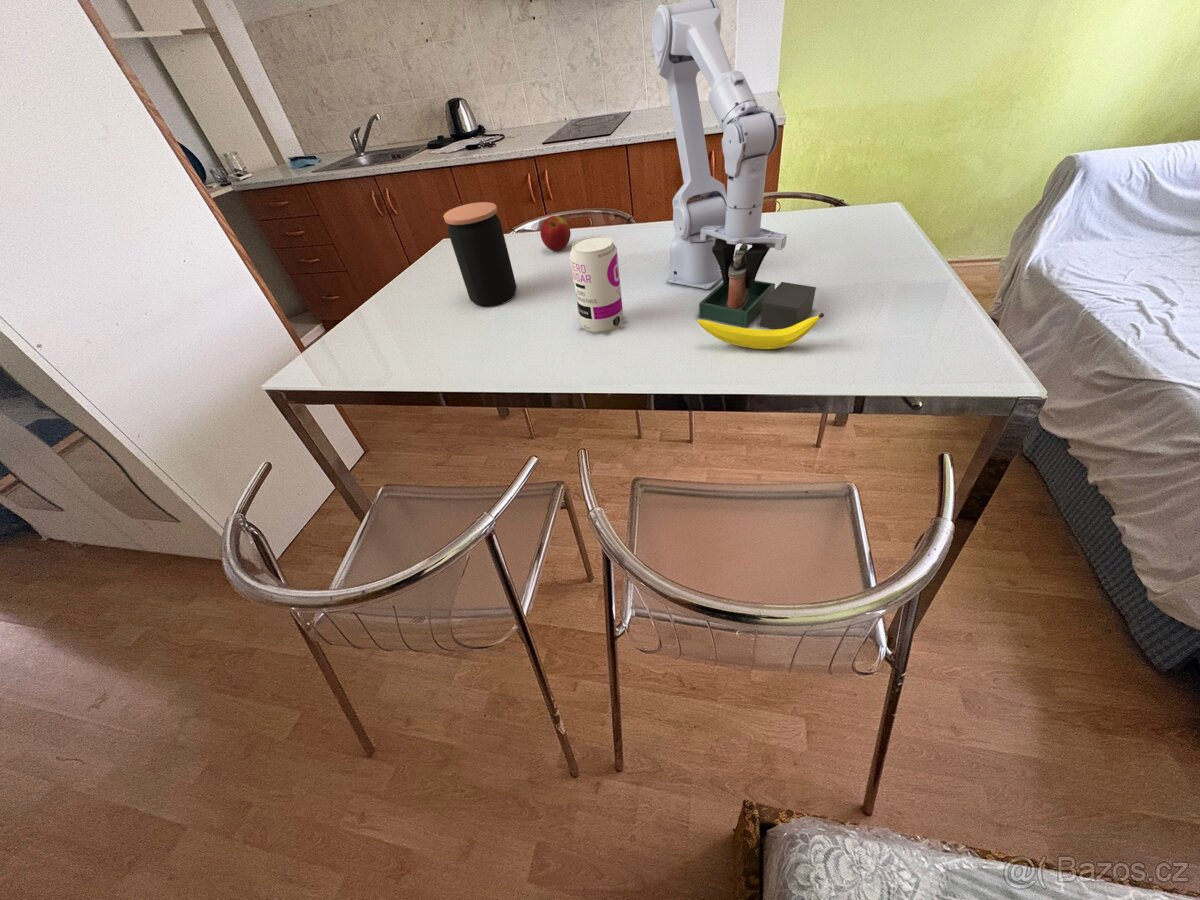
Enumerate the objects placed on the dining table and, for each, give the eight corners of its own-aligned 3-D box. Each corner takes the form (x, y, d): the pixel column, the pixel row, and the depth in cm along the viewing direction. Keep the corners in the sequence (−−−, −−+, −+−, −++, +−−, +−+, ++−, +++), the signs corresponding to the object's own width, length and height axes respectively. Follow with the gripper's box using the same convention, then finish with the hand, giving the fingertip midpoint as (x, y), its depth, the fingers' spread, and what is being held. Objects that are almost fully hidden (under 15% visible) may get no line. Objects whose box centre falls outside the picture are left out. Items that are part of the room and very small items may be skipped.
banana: (697, 341, 83) (697, 307, 79) (816, 345, 78) (823, 308, 74) (695, 350, 81) (695, 316, 77) (817, 354, 76) (824, 318, 72)
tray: (698, 317, 89) (699, 303, 87) (728, 290, 96) (729, 276, 94) (746, 327, 85) (747, 312, 83) (773, 298, 91) (775, 283, 89)
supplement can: (628, 314, 93) (622, 234, 83) (616, 336, 88) (607, 253, 78) (589, 312, 96) (578, 234, 86) (575, 333, 90) (561, 253, 80)
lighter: (741, 315, 87) (746, 259, 80) (723, 313, 88) (725, 258, 81) (751, 294, 92) (755, 241, 85) (733, 293, 93) (736, 240, 86)
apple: (537, 254, 123) (530, 221, 118) (555, 242, 128) (549, 210, 122) (561, 257, 120) (555, 223, 114) (579, 245, 124) (574, 212, 119)
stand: (759, 326, 84) (762, 302, 81) (778, 305, 89) (781, 281, 86) (794, 333, 81) (798, 308, 78) (811, 311, 86) (816, 287, 83)
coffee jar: (526, 288, 108) (506, 202, 96) (501, 310, 102) (475, 220, 90) (488, 284, 112) (464, 201, 100) (460, 305, 106) (431, 219, 94)
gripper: (692, 207, 80) (691, 286, 89) (778, 215, 72) (768, 300, 81) (712, 194, 83) (709, 271, 93) (796, 200, 76) (784, 283, 85)
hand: (738, 284), depth 87 cm, fingers closed on lighter, 4 cm apart
